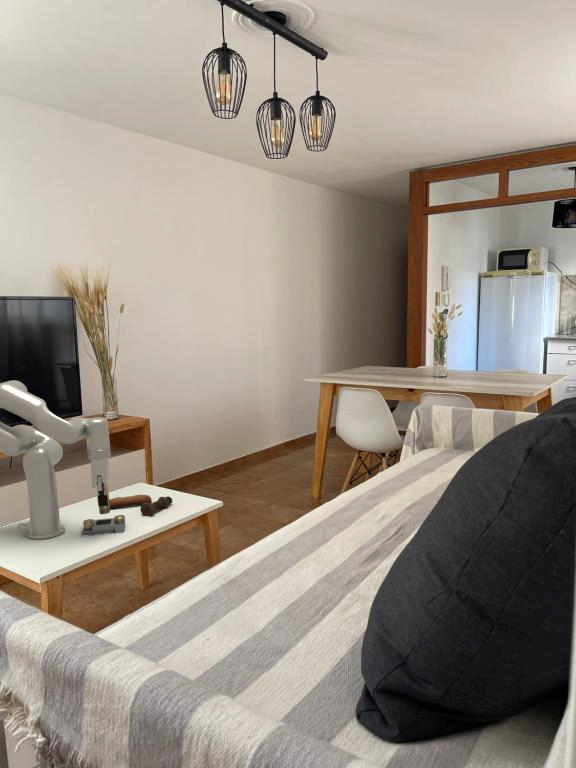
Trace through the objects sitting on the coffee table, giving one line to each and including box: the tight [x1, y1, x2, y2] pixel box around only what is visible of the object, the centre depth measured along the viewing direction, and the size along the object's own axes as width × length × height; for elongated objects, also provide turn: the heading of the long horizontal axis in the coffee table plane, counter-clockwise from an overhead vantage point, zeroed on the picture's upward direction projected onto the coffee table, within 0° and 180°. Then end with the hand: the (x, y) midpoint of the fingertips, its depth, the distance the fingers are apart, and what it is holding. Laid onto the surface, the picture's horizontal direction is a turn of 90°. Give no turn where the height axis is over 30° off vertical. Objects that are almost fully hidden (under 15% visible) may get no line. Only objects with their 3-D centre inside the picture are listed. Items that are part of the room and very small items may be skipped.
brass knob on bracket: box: [81, 514, 126, 537], centre depth 207 cm, size 14×7×4 cm, turn 101°
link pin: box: [98, 484, 111, 515], centre depth 206 cm, size 4×4×13 cm
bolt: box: [140, 495, 174, 517], centre depth 227 cm, size 6×5×15 cm
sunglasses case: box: [109, 494, 153, 510], centre depth 235 cm, size 18×7×7 cm
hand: (103, 503), depth 206 cm, fingers closed on link pin, 3 cm apart
